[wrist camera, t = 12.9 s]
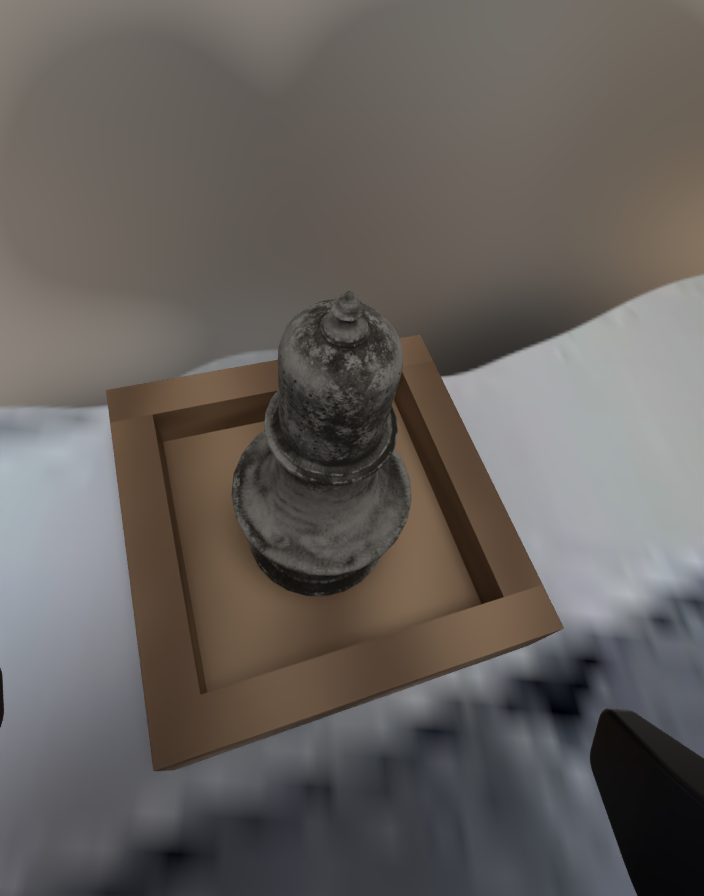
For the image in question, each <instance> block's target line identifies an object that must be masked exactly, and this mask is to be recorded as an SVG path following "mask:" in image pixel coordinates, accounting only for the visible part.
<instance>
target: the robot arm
mask: <svg viewBox="0 0 704 896" xmlns="http://www.w3.org/2000/svg"><path fill="white" fill-rule="evenodd" d="M3 716H4V701H3V680H2V670H1V668H0V727H1V724H2V721H3ZM590 763H591V768H592V772H593V775H594V777H595V780H596V783H597V786H598V789H599V792H600V795H601V798H602V800H603V803H604V806H605V809H606V812H607V815H608V818H609V821H610V823H611V826H612V829H613V832H614V835H615V838H616V841H617V843H618V846H619V849H620V852H621V855H622V858H623V861H624V863H625V866H626V869H627V871H628V874H629V877H630V879H631V882H632V884H633V886H634V889H635V891H636V893H637V896H704V758H702V757H701V756H699V755H698V754H696V753H695V752H693V751H692V750H690V749H689V748H687V747H686V746H684V745H683V744H681V743H680V742H678V741H677V740H675V739H674V738H672V737H671V736H669V735H668V734H666V733H665V732H663V731H662V730H660V729H659V728H657V727H656V726H654V725H653V724H651V723H650V722H648V721H647V720H645V719H644V718H642V717H641V716H639V715H638V714H636V713H635V712H633V711H631V710H625V709H611V708H608V709H605V710H603V711H602V713H601V714H600V717H599V721H598V724H597V728H596V732H595V736H594V739H593V743H592V747H591V751H590Z"/></svg>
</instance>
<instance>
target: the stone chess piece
mask: <svg viewBox="0 0 704 896" xmlns="http://www.w3.org/2000/svg"><path fill="white" fill-rule="evenodd" d="M402 369H403V353H402V344H401V341H400V339H399V337H398V334H397V332H396V331H395V329H394V328H393V327H392V326H391V324H390V323H389V322H388V321H387V320H386V319H385V317H384V316H383V315H381V314H380V313H379V312H377V311H376V310H375V309H373V308H371V307H369V306H367V305H365V304H363V303H362V302H361V300H359V299H358V297H357V296H356V295H354V294H353V292H351V291H348V292H346V293H345V294H342V295H341V296H340V297H338V298H335V299H333V300H326V301H322V302H319V303H316V304H314V305H312V306H310V307H308V308H307V309H305V310H304V311H302V312H301V313H299V314H298V315H296V316H295V317H294V318H293V319H292V320H291V322H290V323H289V324H288V325H287V326H286V329H285V331H284V333H283V336H282V338H281V341H280V344H279V350H278V391H277V392H276V393H275V395H274V396H273V397H272V398H271V400H270V403H269V405H268V408H267V410H266V413H265V425H264V431H263V432H261V433H260V434H259V435H257V436H256V437H255V438H254V439H253V440H252V442H251V443H250V444H249V445H248V447H247V448H246V449H245V450H244V452H243V453H242V454H241V457H240V459H239V462H238V464H237V467H236V469H235V471H234V474H233V484H232V494H231V496H232V501H233V506H234V511H235V516H236V519H237V521H238V523H239V525H240V527H241V529H242V531H243V533H244V535H245V536H246V538H247V539H248V541H249V544H250V549H251V553H252V555H253V557H254V558H255V560H256V562H257V564H258V566H259V568H260V569H261V570H262V571H263V572H264V573H265V574H266V575H267V576H268V577H269V578H270V579H271V580H272V581H273V582H274V583H276V584H278V585H279V586H281V587H283V588H284V589H286V590H288V591H291V592H294V593H298V594H302V595H305V596H329V595H333V594H337V593H340V592H344V591H346V590H348V589H350V588H351V587H353V586H355V585H357V584H358V583H360V582H361V581H362V580H363V579H364V578H365V577H366V576H367V575H368V574H369V573H370V572H371V571H372V570H373V569H374V567H375V565H376V564H377V562H378V560H379V558H380V557H381V556H382V555H383V554H384V553H385V552H386V551H387V550H388V549H389V548H390V547H391V546H392V545H393V544H394V543H395V542H396V541H397V539H398V537H399V536H400V534H401V532H402V530H403V528H404V526H405V524H406V523H407V520H408V515H409V510H410V506H411V501H412V498H411V486H410V478H409V475H408V473H407V470H406V467H405V465H404V462H403V460H402V458H401V457H400V455H399V454H398V452H397V451H396V450H395V444H396V439H397V435H398V427H397V417H396V415H395V412H394V409H393V407H392V404H393V400H394V397H395V394H396V390H397V387H398V384H399V380H400V377H401V373H402Z"/></svg>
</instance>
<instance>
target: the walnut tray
mask: <svg viewBox="0 0 704 896" xmlns="http://www.w3.org/2000/svg"><path fill="white" fill-rule="evenodd" d="M399 339H400V341H401V344H402V353H403V369H402V373H401V377H400V380H399V384H398V387H397V390H396V394H395V397H394V400H393V404H392V407H393V409H394V412H395V415H396V417H397V427H398V435H397V439H396V444H395V450H396V451H397V452H398V454H399V455H400V457H401V458H402V460H403V462H404V465H405V467H406V470H407V473H408V475H409V478H410V486H411V498H412V501H411V506H410V510H409V515H408V520H407V523H406V524H405V526H404V528H403V530H402V532H401V534H400V536H399V537H398V539H397V541H396V542H395V543H394V544H393V545H392V546H391V547H390V548H389V549H388V550H387V551H386V552H385V553H384V554H383V555H382V556H381V557H380V558H379V560H378V562H377V564H376V565H375V567H374V569H373V570H372V571H371V572H370V573H369V574H368V575H367V576H366V577H365V578H364V579H363V580H362V581H361V582H360V583H358V584H357V585H355V586H353V587H351V588H350V589H348V590H346V591H344V592H340V593H337V594H333V595H329V596H305V595H302V594H298V593H294V592H291V591H288V590H286V589H284V588H283V587H281V586H279V585H278V584H276V583H274V582H273V581H272V580H271V579H270V578H269V577H268V576H267V575H266V574H265V573H264V572H263V571H262V570H261V569H260V568H259V566H258V564H257V562H256V560H255V558H254V557H253V555H252V553H251V549H250V544H249V541H248V539H247V538H246V536H245V535H244V533H243V531H242V529H241V527H240V525H239V523H238V521H237V519H236V516H235V511H234V506H233V501H232V496H231V494H232V484H233V474H234V471H235V469H236V467H237V464H238V462H239V459H240V457H241V454H242V453H243V452H244V450H245V449H246V448H247V447H248V445H249V444H250V443H251V442H252V440H253V439H254V438H255V437H256V436H257V435H259V434H260V433H261V432H263V431H264V425H265V413H266V410H267V408H268V405H269V403H270V400H271V398H272V397H273V396H274V395H275V393H276V392H277V391H278V360H274V361H269V362H263V363H258V364H252V365H246V366H241V367H235V368H229V369H224V370H218V371H212V372H207V373H201V374H195V375H190V376H184V377H178V378H173V379H167V380H161V381H156V382H151V383H144V384H139V385H133V386H128V387H122V388H116V389H111V390H106V393H107V401H108V409H109V417H110V425H111V433H112V441H113V449H114V457H115V465H116V473H117V481H118V489H119V497H120V505H121V513H122V521H123V529H124V537H125V545H126V553H127V561H128V569H129V577H130V585H131V593H132V601H133V609H134V617H135V625H136V633H137V641H138V649H139V657H140V665H141V673H142V681H143V689H144V697H145V705H146V713H147V721H148V729H149V737H150V745H151V753H152V761H153V769H154V771H164V770H175V769H178V768H180V767H183V766H186V765H189V764H192V763H195V762H198V761H200V760H203V759H206V758H209V757H212V756H215V755H218V754H220V753H223V752H226V751H229V750H232V749H235V748H238V747H240V746H243V745H246V744H249V743H252V742H255V741H257V740H260V739H263V738H266V737H269V736H272V735H275V734H277V733H280V732H283V731H286V730H289V729H292V728H295V727H297V726H300V725H303V724H306V723H309V722H312V721H315V720H317V719H320V718H323V717H326V716H329V715H332V714H334V713H337V712H340V711H343V710H346V709H349V708H352V707H354V706H357V705H360V704H363V703H366V702H369V701H372V700H374V699H377V698H380V697H383V696H386V695H389V694H392V693H394V692H397V691H400V690H403V689H406V688H409V687H411V686H414V685H417V684H420V683H423V682H426V681H429V680H431V679H434V678H437V677H440V676H443V675H446V674H449V673H451V672H454V671H457V670H460V669H463V668H466V667H469V666H471V665H474V664H477V663H480V662H483V661H486V660H488V659H491V658H494V657H497V656H500V655H503V654H506V653H508V652H511V651H514V650H517V649H520V648H523V647H526V646H528V645H530V644H533V643H535V642H537V641H539V640H541V639H543V638H545V637H547V636H549V635H551V634H553V633H555V632H557V631H559V630H561V629H564V627H563V625H562V623H561V621H560V619H559V617H558V615H557V613H556V611H555V609H554V607H553V605H552V603H551V601H550V599H549V597H548V595H547V593H546V591H545V589H544V587H543V584H542V582H541V580H540V578H539V576H538V574H537V572H536V570H535V568H534V566H533V564H532V562H531V560H530V558H529V556H528V554H527V552H526V550H525V548H524V546H523V544H522V542H521V540H520V538H519V536H518V534H517V531H516V529H515V527H514V525H513V523H512V521H511V519H510V517H509V515H508V513H507V511H506V509H505V507H504V505H503V503H502V501H501V499H500V497H499V495H498V493H497V491H496V489H495V487H494V485H493V483H492V481H491V478H490V476H489V474H488V472H487V470H486V468H485V466H484V464H483V462H482V460H481V458H480V456H479V454H478V452H477V450H476V448H475V446H474V444H473V442H472V440H471V438H470V436H469V434H468V432H467V430H466V428H465V425H464V423H463V421H462V419H461V417H460V415H459V413H458V411H457V409H456V407H455V405H454V403H453V401H452V399H451V397H450V395H449V393H448V391H447V389H446V387H445V385H444V383H443V381H442V379H441V377H440V375H439V372H438V370H437V368H436V366H435V364H434V362H433V360H432V358H431V356H430V354H429V352H428V350H427V348H426V346H425V344H424V342H423V340H422V338H421V336H420V335H416V336H410V337H405V338H399Z"/></svg>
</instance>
